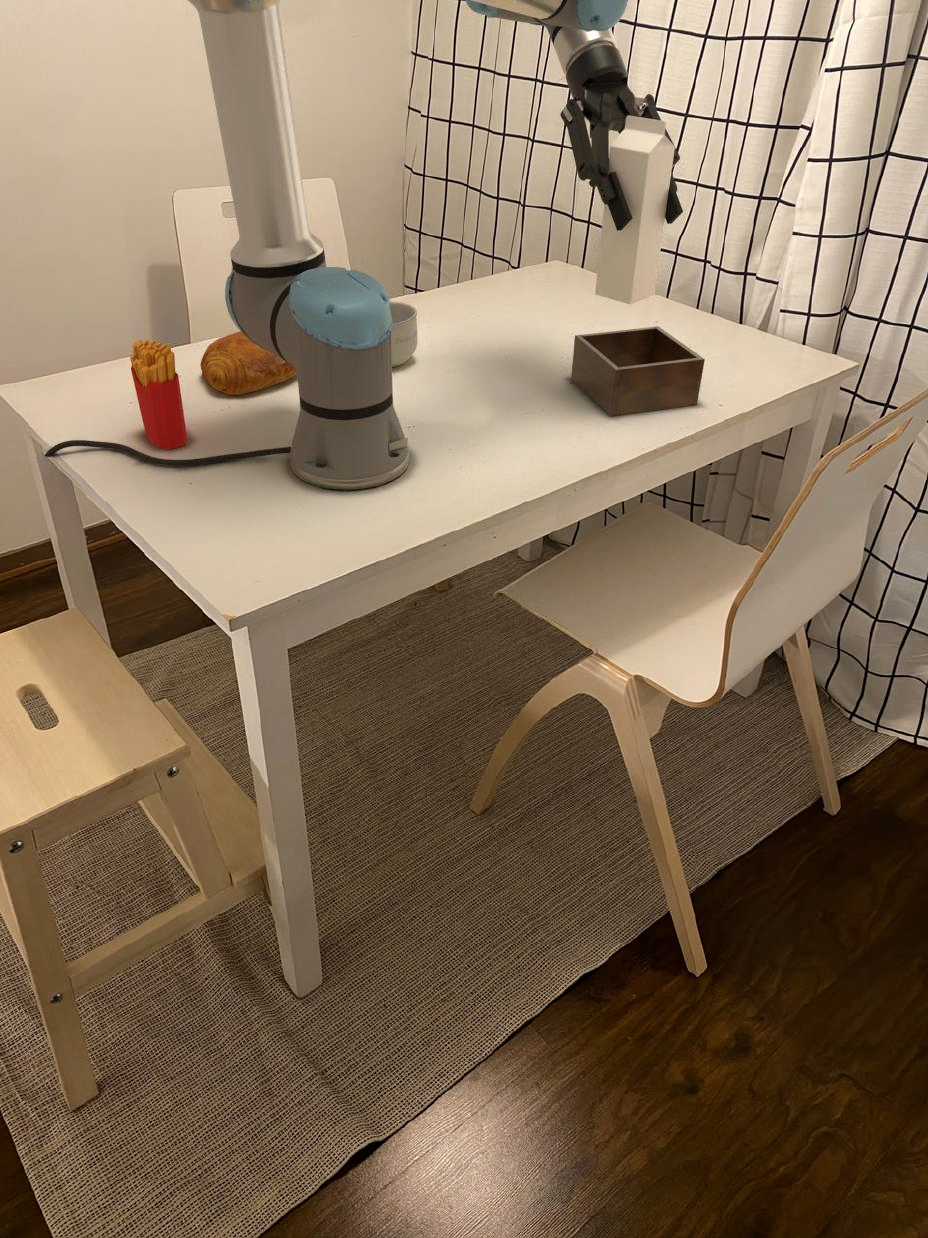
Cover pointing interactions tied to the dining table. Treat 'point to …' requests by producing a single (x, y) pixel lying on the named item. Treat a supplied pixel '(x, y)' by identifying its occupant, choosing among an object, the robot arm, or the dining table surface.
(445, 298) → the dining table surface
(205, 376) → the croissant
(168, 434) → the french fries
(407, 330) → the teacup
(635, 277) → the milk
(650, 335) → the caddy
